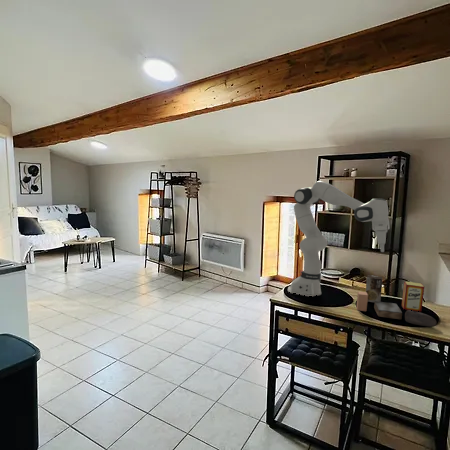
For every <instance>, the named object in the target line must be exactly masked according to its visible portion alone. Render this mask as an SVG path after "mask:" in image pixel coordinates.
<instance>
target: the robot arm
mask: <svg viewBox="0 0 450 450" xmlns="http://www.w3.org/2000/svg"><path fill="white" fill-rule="evenodd" d="M293 198H294V201H295V202H296V203H295V204H294V205H293V211H294V212H293V213H294V216H295V220H296V222H297V225H298V227H299V231H300V232H302V233H303V234H304V236H305V237H304V238H303V239H302V240H301V241H300V242H299V248H300V251H301V252H302V255H303V269H301V270H300V271H299V273H300V274H299V275H300V276H298V277H296V278H295V279H293V280H292V282H291V285H289V286H288V287H287V292H288V293H289V292H290V293H289V294H293V293H296V294H295V295H299V294H300V296H304V295H305V297H309V296H312V297H315V296H316V295H317V296H321V295H322V289H321V280H322V273H321V271H322V261H321V259H320V256H319V252H321V251H324V250H325V249H326V248H327V246H328V239H327V238H326V236H324V235H323V233H322V232H321V231H320V229H319V228H318V225H317V223H316V221H315V218H314V216H313V213H312V210H311V206H314V205H315V204H316V203H318V202H319V201H320V200H322V201H323V202H324V203H327V204H330V205H331V206H343V207H348V208H350V209H352V210H353V211H354V212H353V215H354V218H355V220H356V221H358V222H362V223H364V222H366V223H367V222H371V224H372V225H371V227H372V231H374V233H375V235H376V241H377V244H378V245H379V248H380V252H381V253H384V252H385V244H386V242H387V241H386V240H387V239H386V238H387V233H388V230H390V228H391V227H390V219H389V214H390V213H389V207H388V202H387V200H386V199H384V198H372V199H371V200H370V201H367V202H366V203H364V202H362V201H360V200H359V199H356V198H354V197H353V196H351V195H349V194H348V193H346V192H344V191H342V190H341V189H339V188H338V187H336V186H334V185H332V184H331V183H328V182H326V181H322V180H318V181H316V182H315V183H313V186H308V187H301V188H298V189H297V190H295V192H294V195H293Z"/></svg>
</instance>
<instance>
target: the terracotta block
mask: <svg viewBox="0 0 450 450" xmlns="http://www.w3.org/2000/svg"><path fill="white" fill-rule="evenodd" d="M367 300H368V294H367V292H366V291H357V295H356V310H357V311H361V312H367V311H368V310H367V309H368V301H367Z"/></svg>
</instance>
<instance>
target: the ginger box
mask: <svg viewBox="0 0 450 450" xmlns="http://www.w3.org/2000/svg"><path fill="white" fill-rule="evenodd" d="M403 282H404V283H403V291H402V300H401V307H402V308H403V309H402V310H404V309H405V311H407V310H412V311H416V312H418V311H419V312H420V313H422V309H423V303H424V302H423V301H424V294H425V293H424V292H425V286H424V284H423V283H420V282H414V281H403Z"/></svg>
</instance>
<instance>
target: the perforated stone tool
mask: <svg viewBox="0 0 450 450" xmlns="http://www.w3.org/2000/svg"><path fill="white" fill-rule="evenodd" d="M404 320H405V322H406V323H409V324H412V325H417V326H422V327H428V328H429V327H430V328H432V327H435V326H436V325H437V320H436V319H435V318H434V317H433V316H431V315H429V314H426V313H423V312H418V311H411V310H405V313H404Z"/></svg>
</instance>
